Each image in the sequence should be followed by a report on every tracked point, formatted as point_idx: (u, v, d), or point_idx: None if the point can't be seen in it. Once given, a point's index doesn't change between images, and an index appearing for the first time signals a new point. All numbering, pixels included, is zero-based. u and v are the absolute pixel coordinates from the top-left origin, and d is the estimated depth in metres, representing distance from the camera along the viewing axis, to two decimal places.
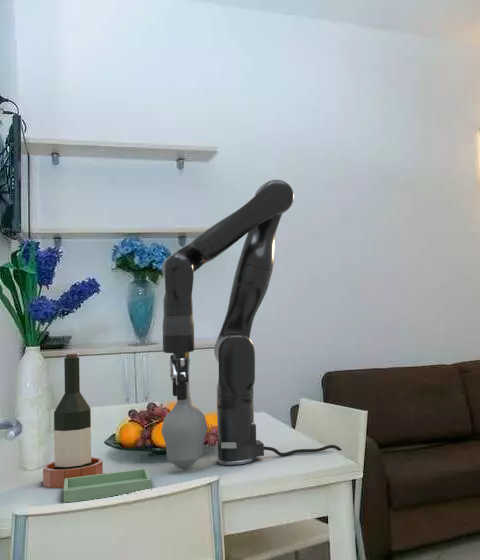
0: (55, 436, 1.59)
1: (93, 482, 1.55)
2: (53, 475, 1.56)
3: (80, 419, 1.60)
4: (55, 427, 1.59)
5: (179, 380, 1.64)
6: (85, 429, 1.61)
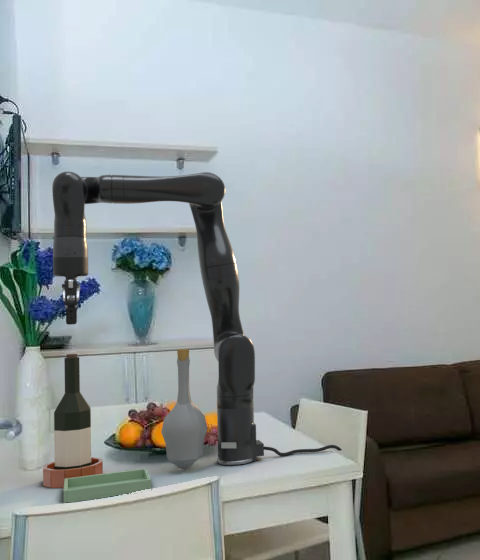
0: (55, 436, 1.59)
1: (93, 482, 1.55)
2: (53, 475, 1.56)
3: (81, 419, 1.60)
4: (55, 427, 1.59)
5: (67, 302, 1.56)
6: (85, 429, 1.61)
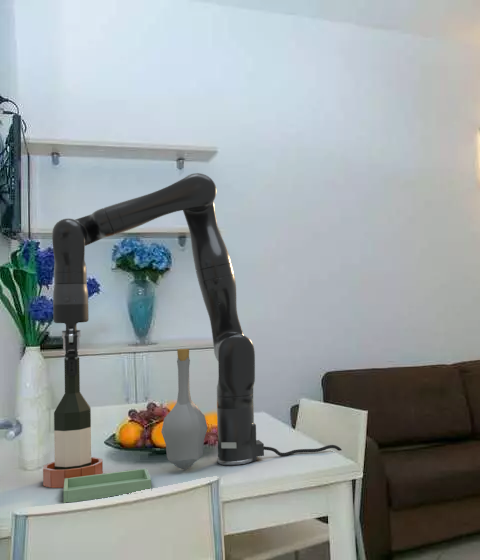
0: (55, 436, 1.59)
1: (93, 482, 1.55)
2: (53, 475, 1.56)
3: (81, 419, 1.60)
4: (55, 427, 1.59)
5: (67, 355, 1.58)
6: (85, 429, 1.61)
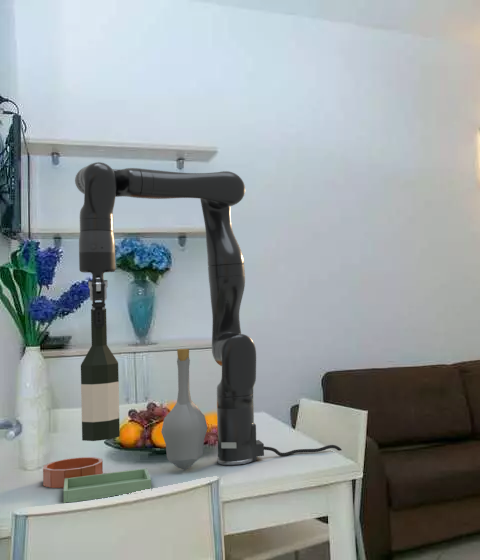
0: (82, 390, 1.51)
1: (93, 482, 1.55)
2: (53, 475, 1.56)
3: (109, 373, 1.52)
4: (82, 381, 1.51)
5: (94, 304, 1.50)
6: (113, 383, 1.53)
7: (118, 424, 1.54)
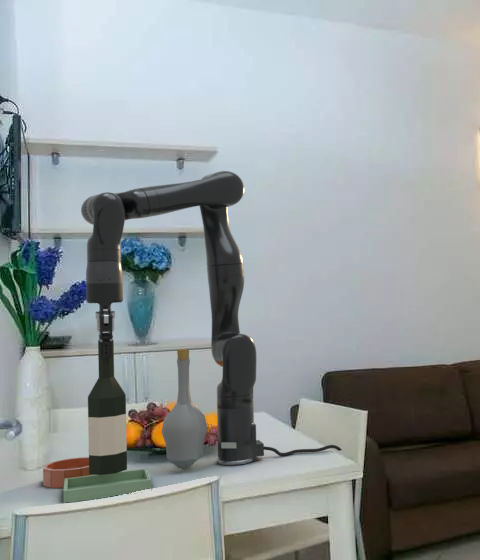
0: (89, 423, 1.49)
1: (93, 482, 1.55)
2: (53, 475, 1.56)
3: (116, 405, 1.50)
4: (89, 414, 1.49)
5: (102, 336, 1.48)
6: (121, 416, 1.51)
7: (125, 457, 1.52)
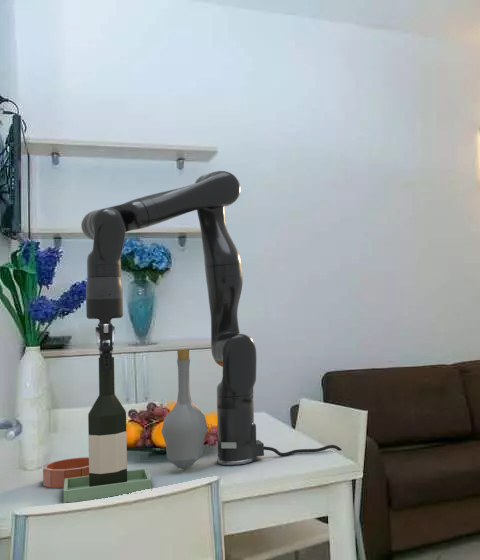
0: (89, 441, 1.49)
1: None
2: (53, 475, 1.56)
3: (116, 423, 1.50)
4: (90, 432, 1.49)
5: (102, 348, 1.46)
6: (121, 433, 1.51)
7: (126, 474, 1.52)
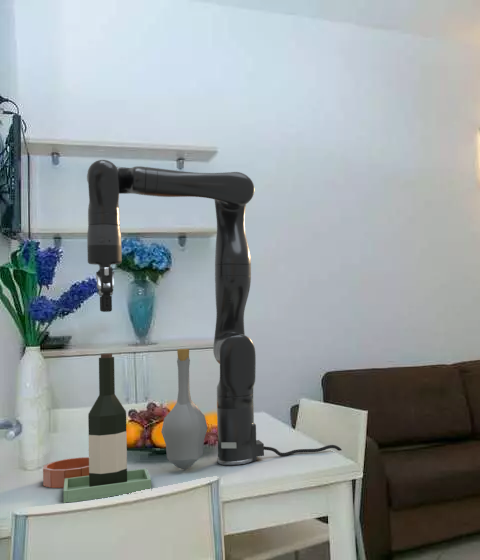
0: (89, 441, 1.49)
1: None
2: (53, 475, 1.56)
3: (117, 423, 1.50)
4: (90, 432, 1.49)
5: (103, 289, 1.57)
6: (121, 433, 1.51)
7: (126, 474, 1.52)
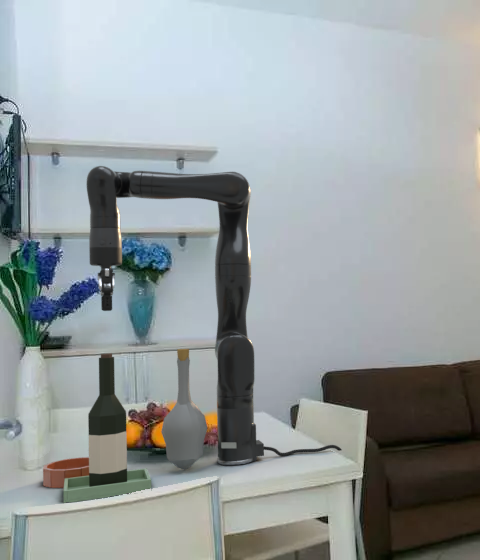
0: (89, 441, 1.49)
1: None
2: (53, 475, 1.56)
3: (117, 423, 1.50)
4: (90, 432, 1.49)
5: (103, 290, 1.65)
6: (121, 433, 1.51)
7: (126, 474, 1.52)
